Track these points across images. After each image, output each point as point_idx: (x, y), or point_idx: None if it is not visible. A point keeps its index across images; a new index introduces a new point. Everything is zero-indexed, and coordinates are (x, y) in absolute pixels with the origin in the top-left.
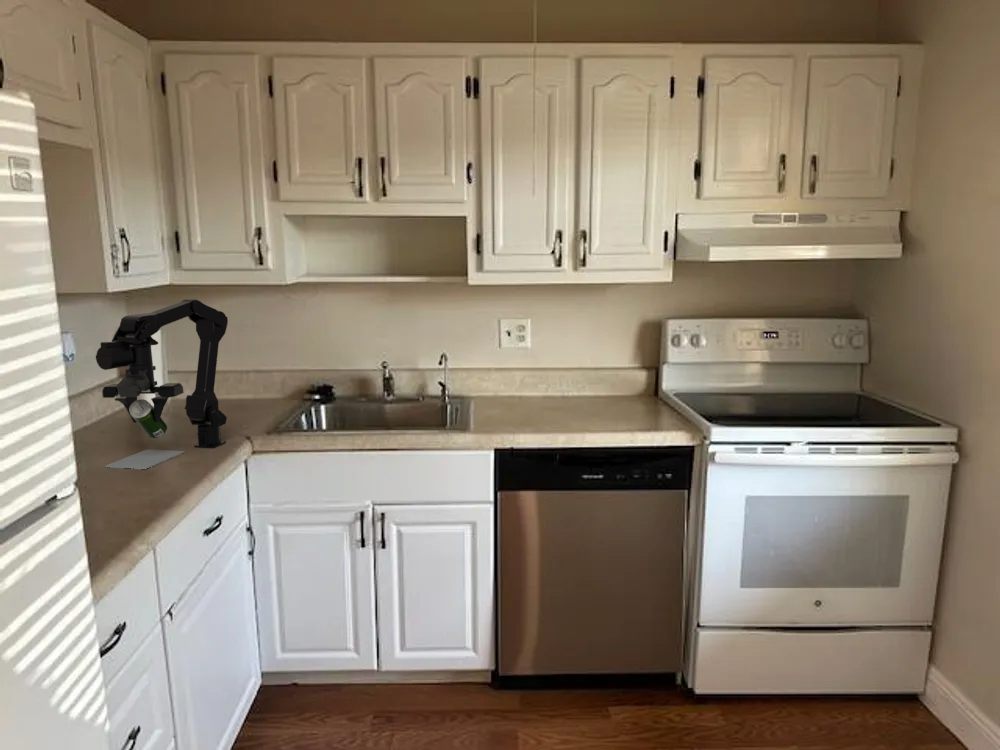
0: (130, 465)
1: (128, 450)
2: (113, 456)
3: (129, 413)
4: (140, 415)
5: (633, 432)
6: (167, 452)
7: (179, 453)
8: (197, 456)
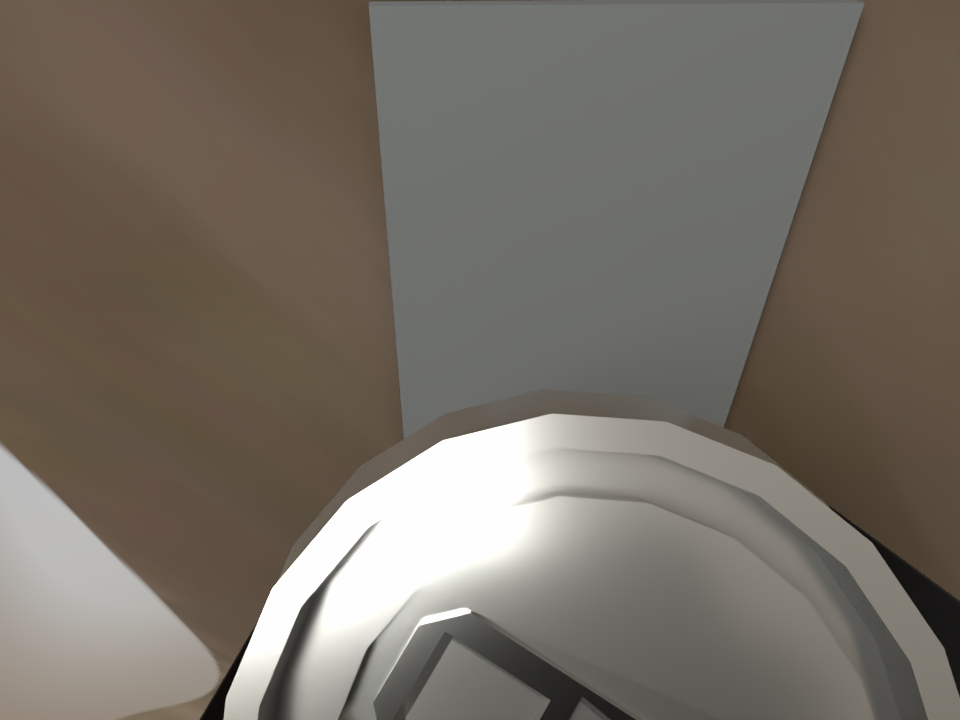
0: (599, 60)
1: (850, 433)
2: (907, 306)
3: (905, 574)
4: (408, 471)
5: None
6: None
7: (406, 435)
8: (247, 431)
